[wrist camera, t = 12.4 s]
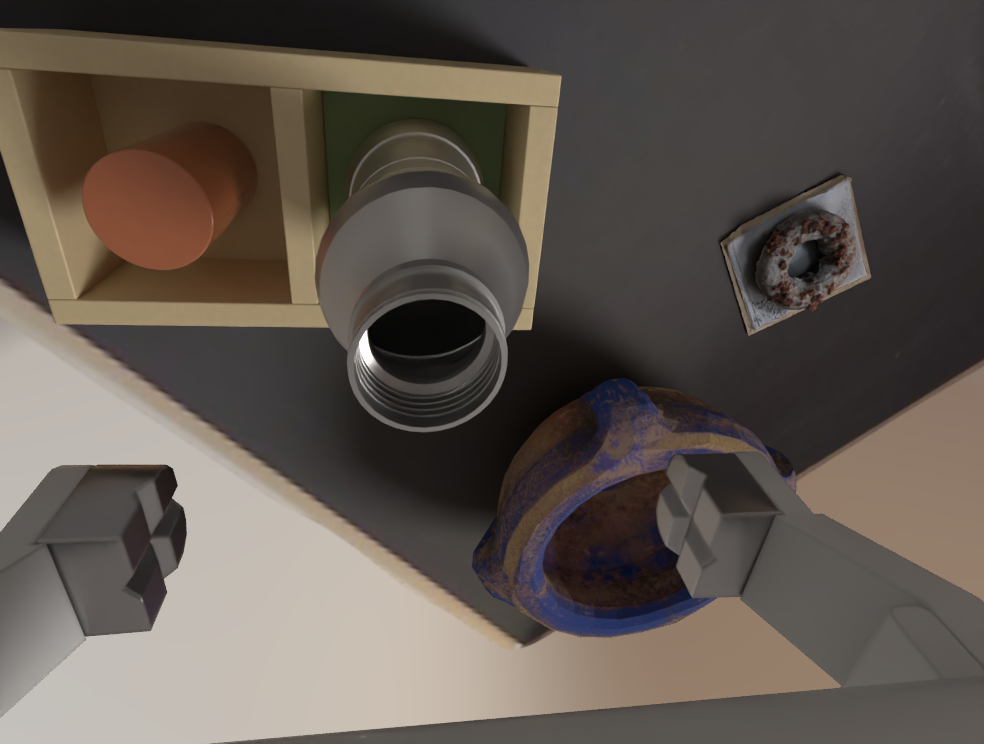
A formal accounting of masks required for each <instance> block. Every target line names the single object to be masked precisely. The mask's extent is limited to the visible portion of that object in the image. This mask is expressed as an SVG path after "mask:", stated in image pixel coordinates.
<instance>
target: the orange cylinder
mask: <svg viewBox="0 0 984 744" xmlns="http://www.w3.org/2000/svg"><path fill="white" fill-rule="evenodd" d="M257 182H258V177H257V170H256V166H255V162H254V160H253V158H252V156H251V154H250V152H249V151H248V149H247V148H246V146H245V145H244V144H243V143H242V142H241V141H240V140H239V139H238V138H237V137H236V136H235V135H234V134H232V133H231V132H229V131H228V130H226V129H224V128H222V127H220V126H218V125H215V124H211V123H207V122H189V123H185V124H182V125H180V126H177V127H174V128H172V129H169V130H167V131H164V132H162V133H159V134H157V135H154V136H152V137H149V138H147V139H144V140H141V141H139V142H136V143H134V144H131V145H129V146H126V147H124V148H121V149H119V150H116V151H114V152H111V153H109V154H107V155H105V156H103V157H102V158H100V159H99V160H97V161H96V162H95V163H94V164H93V165H92V167H91V168H90V169H89V171H88V172H87V175H86V177H85V179H84V183H83V187H82V204H83V209H84V213H85V216H86V219H87V221H88V223H89V225H90V227H91V228H92V230H93V231H94V233H95V234H96V236H97V237H98V238H99V239H100V241H101V242H102V243H103V244H104V245H105V246H106V247H107V248H109V249H110V250H111V251H112V252H113V253H115V254H116V255H118V256H119V257H121V258H123V259H124V260H126V261H128V262H130V263H133V264H135V265H138V266H141V267H144V268H149V269H156V270H171V269H177V268H180V267H184V266H186V265H188V264H191V263H192V262H194V261H195V260H197V259H198V258H199V257H200V256H201V255H202V254H203V253H204V252H205V251H206V250H207V249H208V248H209V247H210V246H211V245H212V244H213V243H214V241H215V240H216V239H217V238H218V237H219V236H220V235H221V234H222V233H223V232H224V231H225V230H226V229H227V227H228V226H229V225H230V224H231V223H232V222H233V221H234V220H235V219H236V218H237V217H238V216H239V215H240V214H241V212H242V211H243V210H244V209H245V208H246V207H247V206H248V205H249V204H250V202H251V201H252V199H253V197H254V195H255V193H256V189H257Z"/></svg>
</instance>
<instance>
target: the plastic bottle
mask: <svg viewBox="0 0 984 744" xmlns="http://www.w3.org/2000/svg"><path fill="white" fill-rule="evenodd" d="M345 191H346V200H347V201H346V202H345V203H344V205H343V206H342V207H341V208H340V209H339V210H338V212H337V213H336V214H335V216H334V217H333V219H332V220H331V222H330V224H329V226H328V228H327V229H326V231H325V233H324V235H323V237H322V239H321V243H320V246H319V250H318V253H317V256H316V264H315V286H316V293H317V299H318V302H319V304H320V307H321V310H322V312H323V315H324V318H325V320H326V322H327V324H328V326H329V328H330V329H331V331H332V332H333V334H334V335H335V337H336V339H337V340H338V342H339V343H340V344H341V345H342V346H343V347H344V348H345V349H346V350H347V351H348V355H347V369H348V377H349V382H350V384H351V387H352V390H353V392H354V395H355V396H356V398H357V399H358V401H359V402H360V404H361V405H362V406H363V407H364V408H365V409H366V410H367V411H368V412H369V413H370V414H371V415H372V416H374V417H375V418H377V419H378V420H380V421H381V422H383V423H385V424H387V425H390V426H392V427H395V428H398V429H402V430H407V431H413V432H432V431H440V430H444V429H448V428H452V427H455V426H457V425H459V424H462V423H464V422H466V421H468V420H469V419H471V418H472V417H474V416H476V415H477V414H479V413H480V412H481V411H482V410H483V409H484V408H485V407H486V406H487V405H488V404H489V403H490V402H491V401H492V399H493V398H494V397H495V395H496V394H497V393H498V391H499V389H500V387H501V385H502V383H503V381H504V377H505V373H506V369H507V358H508V348H507V343H506V338H507V337H508V335H509V334H510V332H511V331H512V330H513V328H514V326H515V324H516V322H517V320H518V318H519V316H520V314H521V311H522V308H523V304H524V300H525V296H526V291H527V287H528V283H529V257H528V251H527V245H526V242H525V239H524V237H523V234H522V232H521V229H520V226H519V224H518V223H517V221H516V220H515V218H514V217H513V215H512V214H511V212H510V211H509V210H508V208H507V207H506V206H505V205H504V204H503V203H502V202H501V201H500V200H499V199H498V198H497V197H496V196H495V195H493V194H492V193H491V192H490V191H489V190H488V189H487V188H486V187H484V186H483V177H482V172H481V167H480V165H479V162H478V160H477V158H476V155H475V154H474V152H473V151H472V149H471V148H470V146H469V145H468V143H467V142H466V141H465V140H464V139H463V138H462V137H461V136H460V135H459V134H458V133H456V132H455V131H453V130H452V129H450V128H448V127H447V126H445V125H442V124H440V123H437V122H435V121H431V120H425V119H419V118H418V119H403V120H399V121H396V122H392V123H389V124H387V125H385V126H383V127H381V128H379V129H377V130H376V131H375V132H374V133H372V134H371V135H370V136H369V137H367V138H366V139H365V141H364V142H363V143H362V144H361V145H360V147H359V148H358V149H357V151H356V153H355V155H354V156H353V158H352V160H351V162H350V166H349V169H348V172H347V176H346V188H345Z"/></svg>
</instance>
